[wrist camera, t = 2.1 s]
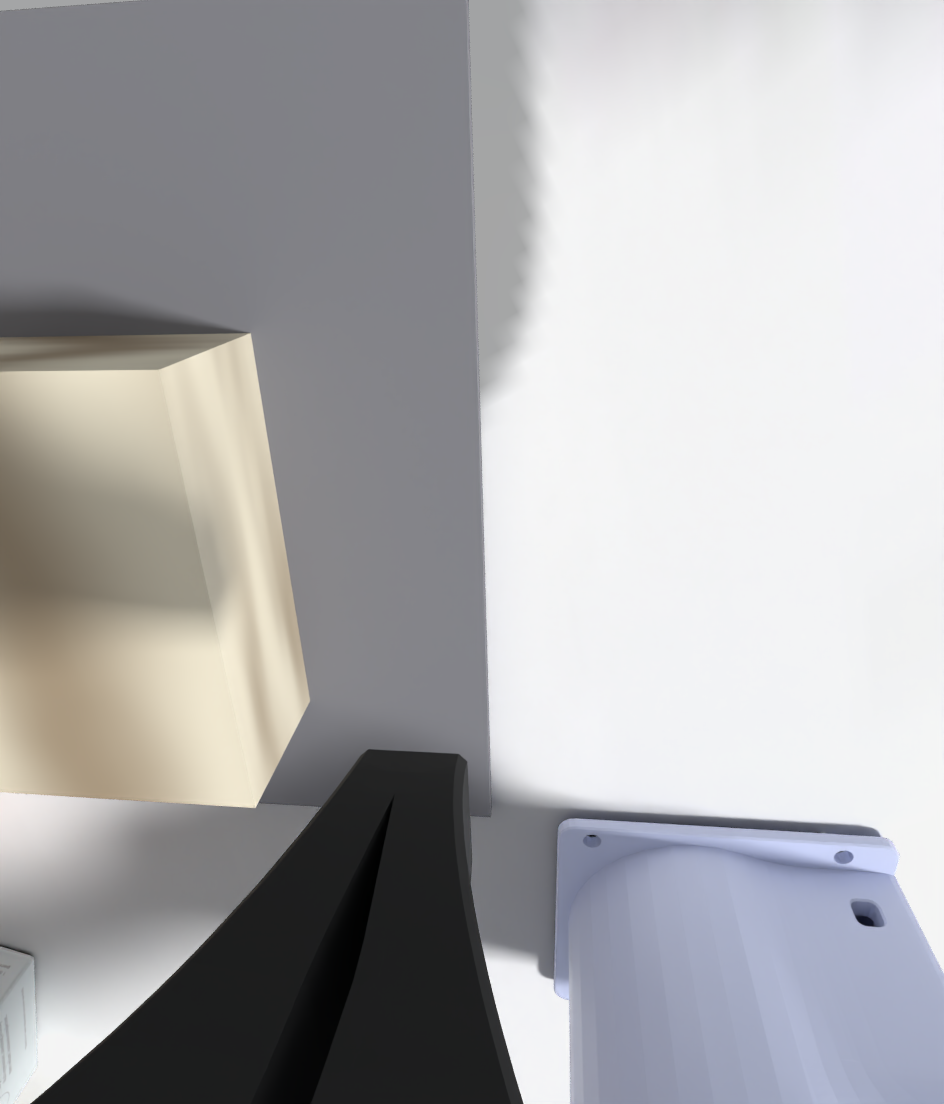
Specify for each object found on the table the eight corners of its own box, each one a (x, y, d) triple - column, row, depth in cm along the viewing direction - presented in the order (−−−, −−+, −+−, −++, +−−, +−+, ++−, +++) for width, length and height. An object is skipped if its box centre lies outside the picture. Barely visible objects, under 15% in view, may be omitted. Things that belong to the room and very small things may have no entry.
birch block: (250, 333, 16) (159, 370, 12) (310, 700, 20) (255, 807, 16) (-78, 339, 17) (-253, 374, 13) (47, 689, 21) (-59, 788, 17)
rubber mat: (468, -18, 13) (465, -24, 13) (491, 807, 22) (490, 816, 21) (-652, 65, 16) (-680, 62, 15) (-235, 763, 24) (-247, 771, 24)
